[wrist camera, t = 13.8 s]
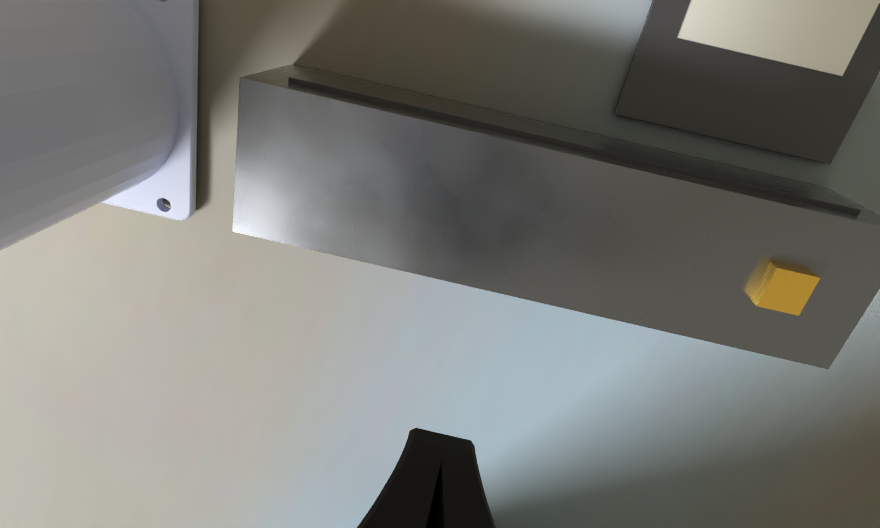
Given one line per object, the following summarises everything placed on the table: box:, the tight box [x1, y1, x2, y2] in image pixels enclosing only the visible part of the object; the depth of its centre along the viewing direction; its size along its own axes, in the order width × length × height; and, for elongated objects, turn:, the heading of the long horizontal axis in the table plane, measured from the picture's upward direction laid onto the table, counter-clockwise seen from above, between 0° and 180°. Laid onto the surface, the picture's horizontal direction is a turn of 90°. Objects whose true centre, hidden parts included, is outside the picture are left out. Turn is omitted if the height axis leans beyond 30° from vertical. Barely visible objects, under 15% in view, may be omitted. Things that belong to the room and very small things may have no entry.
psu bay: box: [233, 65, 880, 369], centre depth 17 cm, size 18×5×4 cm, turn 78°
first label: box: [614, 0, 880, 164], centre depth 16 cm, size 7×8×1 cm
